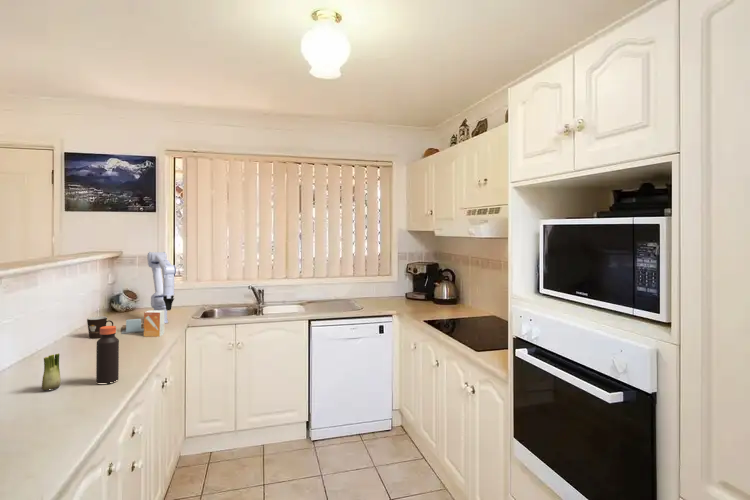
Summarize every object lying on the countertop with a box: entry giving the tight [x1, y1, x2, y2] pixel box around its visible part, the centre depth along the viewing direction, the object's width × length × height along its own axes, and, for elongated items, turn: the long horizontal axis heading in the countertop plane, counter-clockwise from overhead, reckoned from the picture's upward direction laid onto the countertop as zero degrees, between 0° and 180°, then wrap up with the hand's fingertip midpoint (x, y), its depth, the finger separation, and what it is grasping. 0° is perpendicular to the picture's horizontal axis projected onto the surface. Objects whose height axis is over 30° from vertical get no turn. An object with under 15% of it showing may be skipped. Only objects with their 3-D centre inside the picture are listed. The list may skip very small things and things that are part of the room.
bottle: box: [95, 325, 120, 384], centre depth 147 cm, size 7×7×20 cm
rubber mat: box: [121, 328, 144, 335], centre depth 223 cm, size 8×11×1 cm
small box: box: [143, 309, 165, 338], centre depth 215 cm, size 8×6×13 cm
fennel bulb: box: [41, 352, 62, 391], centre depth 139 cm, size 6×5×12 cm
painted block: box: [125, 318, 142, 332], centre depth 223 cm, size 4×7×6 cm, turn 118°
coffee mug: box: [86, 315, 114, 340], centre depth 208 cm, size 12×9×10 cm
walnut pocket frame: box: [121, 323, 144, 331], centre depth 231 cm, size 9×12×1 cm
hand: (168, 309), depth 235 cm, fingers open, 7 cm apart
